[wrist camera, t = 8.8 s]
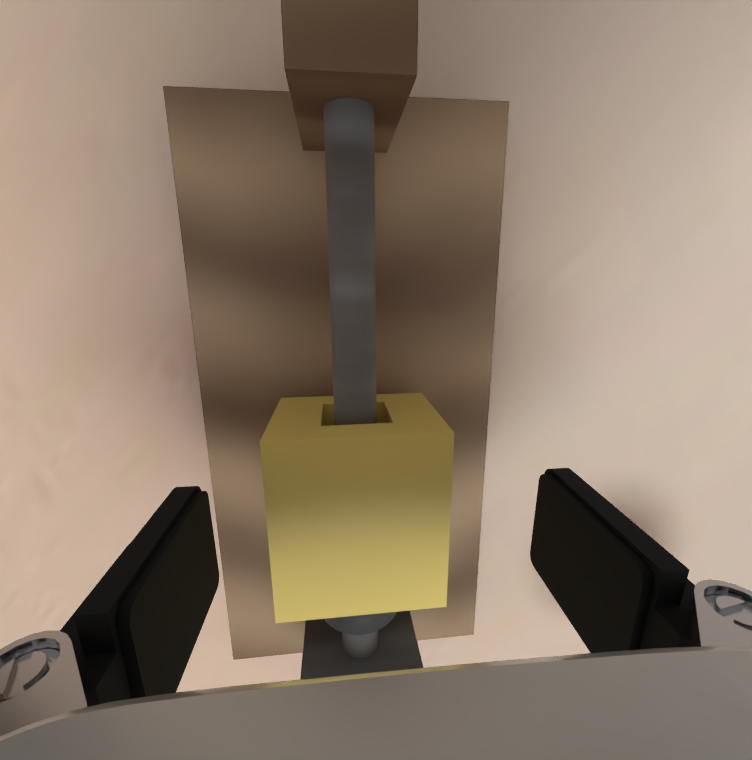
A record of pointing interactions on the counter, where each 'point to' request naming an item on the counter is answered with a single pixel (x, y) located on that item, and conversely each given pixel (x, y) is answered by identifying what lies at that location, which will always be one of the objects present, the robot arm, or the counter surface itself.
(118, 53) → the counter surface
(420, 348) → the cable rail
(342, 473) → the sleeve
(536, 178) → the counter surface
